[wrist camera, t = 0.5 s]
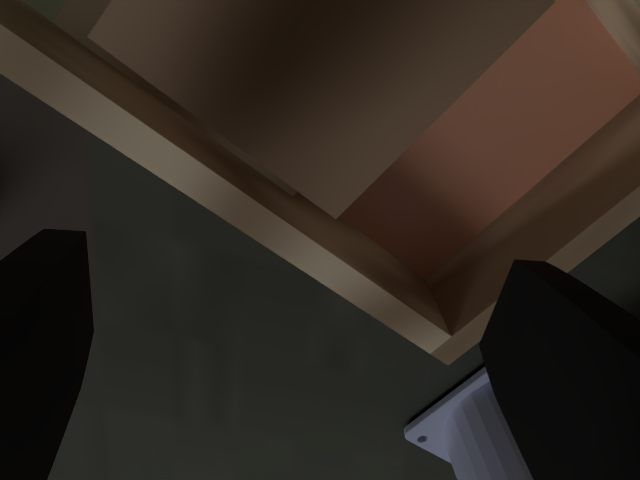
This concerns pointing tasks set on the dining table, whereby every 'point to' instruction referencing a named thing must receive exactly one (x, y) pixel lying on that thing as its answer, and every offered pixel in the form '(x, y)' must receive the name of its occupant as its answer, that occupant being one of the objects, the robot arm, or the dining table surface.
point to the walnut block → (315, 74)
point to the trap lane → (395, 164)
